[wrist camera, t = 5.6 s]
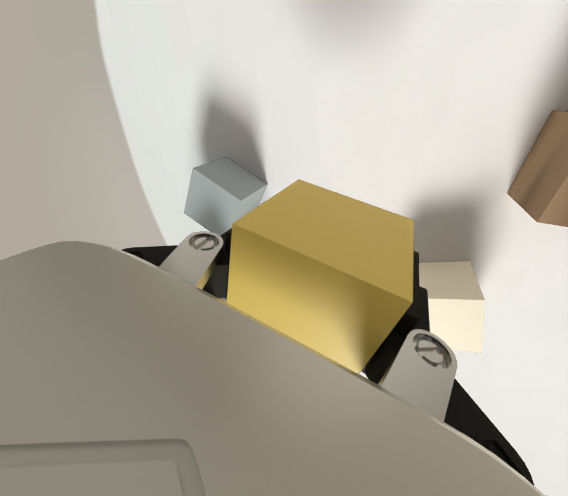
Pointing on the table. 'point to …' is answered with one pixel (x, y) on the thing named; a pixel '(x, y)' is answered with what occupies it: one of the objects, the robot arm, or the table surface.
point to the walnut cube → (546, 174)
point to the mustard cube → (323, 270)
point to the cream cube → (454, 303)
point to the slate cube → (222, 194)
